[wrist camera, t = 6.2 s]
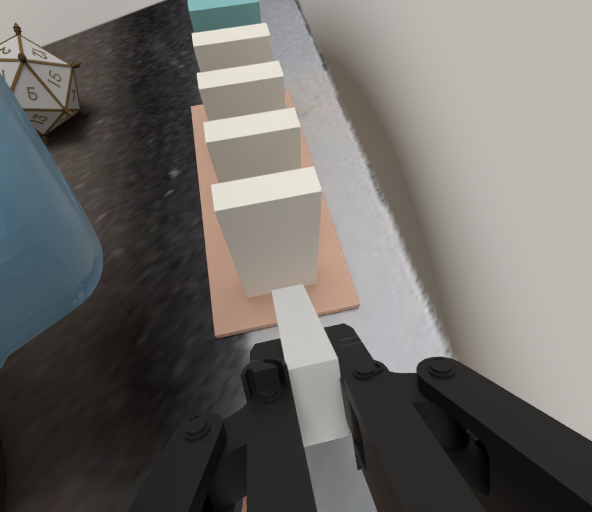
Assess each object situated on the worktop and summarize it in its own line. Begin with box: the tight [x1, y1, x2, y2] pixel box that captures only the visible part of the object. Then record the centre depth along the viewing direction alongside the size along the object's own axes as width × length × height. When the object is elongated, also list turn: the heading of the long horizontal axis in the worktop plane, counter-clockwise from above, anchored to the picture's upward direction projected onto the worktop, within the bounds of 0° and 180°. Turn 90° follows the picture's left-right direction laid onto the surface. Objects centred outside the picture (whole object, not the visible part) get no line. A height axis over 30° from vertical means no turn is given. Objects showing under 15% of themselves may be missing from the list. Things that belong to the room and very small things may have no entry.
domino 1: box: [188, 0, 261, 33], centre depth 29 cm, size 2×5×10 cm, turn 102°
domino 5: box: [211, 166, 322, 298], centre depth 21 cm, size 2×5×10 cm, turn 102°
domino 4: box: [203, 107, 301, 183], centre depth 23 cm, size 2×5×10 cm, turn 103°
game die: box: [0, 23, 89, 145], centre depth 31 cm, size 9×8×10 cm
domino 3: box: [197, 61, 286, 121], centre depth 25 cm, size 2×5×10 cm, turn 102°
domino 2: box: [192, 23, 272, 72], centre depth 27 cm, size 2×5×10 cm, turn 103°
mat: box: [191, 91, 360, 338], centre depth 30 cm, size 24×10×1 cm, turn 12°
